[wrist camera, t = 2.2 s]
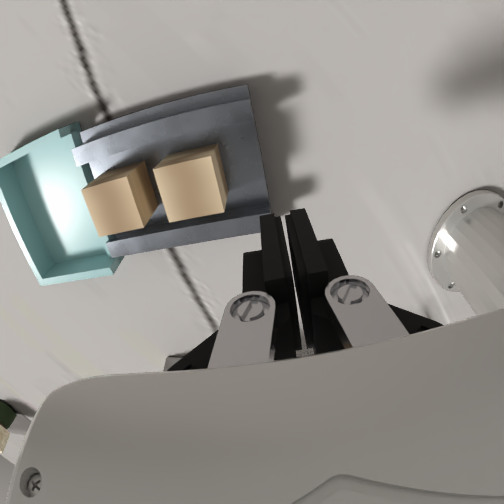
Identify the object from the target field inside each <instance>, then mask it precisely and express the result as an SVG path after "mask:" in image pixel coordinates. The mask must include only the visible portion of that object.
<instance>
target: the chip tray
mask: <svg viewBox="0 0 504 504" xmlns="http://www.w3.org/2000/svg"><path fill="white" fill-rule="evenodd" d="M80 132H82V131H81V128H80V124H79V122H76V123H73V124H70V125H68V126H65V127H62V128H60V129H57V130H55V131H53V132H51V133H49V134H47V135H45V136H43V137H41V138H39V139H37V140H35V141H33V142H31V143H29V144H27V145H25V146H23V147H21V148H19V149H17V150H15V151H14V152H12V153H10V154H8V155H6V156H5V157H3V158H1V159H0V201H1V204H2V206H3V209H4V211H5V214H6V216H7V218H8V221H9V223H10V225H11V227H12V230H13V232H14V234H15V236H16V238H17V241H18V243H19V245H20V247H21V249H22V251H23V253H24V255H25V257H26V259H27V261H28V263H29V265H30V267H31V269H32V271H33V272H34V274H35V276H36V278H37V280H38V282H39V283H40V285H41V286H44V285H50V284H56V283H63V282H69V281H76V280H82V279H89V278H95V277H102V276H108V275H113V274H114V273H115V271H116V269H117V268H118V266H119V264H120V263H121V261H122V259H123V258H124V256H119V257H114V258H112V257H111V254H110V252H109V250H108V247H107V245H106V242H107V241H108V239H109V238H110V237H111V235H107V236H102V237H99V235H98V233H97V230H96V228H95V225H94V223H93V220H92V218H91V215H90V213H89V210H88V208H87V205H86V202H85V200H84V197H83V194H82V192H81V190H82V189H83V188H84V187H85V186H87V185H88V184H89V183H90V182H92V181H93V180H94V177H93V174H92V171H91V168H90V165H89V163H86V164H83V165H81V166H78V167H77V166H76V163H75V160H74V157H73V154H72V150H71V149H73V148H75V147H77V146H79V145H81V144H83V142H82V139H81V135H80Z"/></svg>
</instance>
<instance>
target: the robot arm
mask: <svg viewBox="0 0 504 504" xmlns="http://www.w3.org/2000/svg"><path fill="white" fill-rule="evenodd" d="M259 217H260V231H261V245H262V250H259V251H253V252H246V253H244V254H243V292H242V294H239V295H237V296H236V297H234V298H232V299H231V300H230V301H229V302H228V303H227V305H226V307H225V310H224V313H223V317H222V320H221V323H220V327H219V330H217V331H216V332H215V333H214V334H212V335H211V336H210V337H208V338H207V339H206V340H205V341H203V342H202V343H201V344H199V345H198V346H197V347H196V348H194V349H193V350H192V351H190V352H189V353H188V354H187V355H185V356H184V357H183V358H181V359H180V360H179V361H178V362H176V363H175V364H174V365H172V366H171V367H170V368H169V369H168V370H167V371H165V372H145V373H129V374H110V375H102V376H94V377H90V378H85V379H80V380H77V381H74V382H72V383H69V384H66V385H64V386H62V387H59V388H58V389H56V390H54V391H52V392H51V393H50V394H49V395H48V396H47V397H46V398H45V400H44V401H43V402H42V404H41V405H40V407H39V408H38V410H37V412H36V414H35V416H34V418H33V420H32V422H31V424H30V426H29V428H28V431H27V433H26V436H25V438H24V441H23V444H22V446H21V449H20V452H19V455H18V458H17V461H16V464H15V467H14V471H13V475H12V478H11V482H10V486H9V490H8V494H7V499H6V503H5V504H504V198H502V197H501V196H500V195H498V194H497V193H495V192H493V191H489V190H477V191H474V192H471V193H468V194H466V195H465V196H463V197H461V198H459V199H458V200H457V201H456V202H455V203H454V204H452V205H451V206H450V207H449V209H448V210H447V211H446V212H445V213H444V214H443V216H442V217H441V219H440V220H439V222H438V223H437V226H436V228H435V230H434V232H433V234H432V237H431V240H430V243H429V249H428V266H429V270H430V272H431V275H432V277H433V278H434V279H435V281H436V282H437V284H438V285H440V286H441V287H442V288H443V289H445V290H447V291H452V292H461V294H462V295H463V296H464V298H465V299H466V301H467V302H468V304H469V305H470V306H471V308H472V309H473V311H474V312H475V314H476V315H477V316H474V317H471V318H467V319H464V320H461V321H458V322H454V323H451V324H447V325H442V324H440V323H438V322H436V321H433V320H431V319H428V318H425V317H423V316H420V315H417V314H414V313H412V312H409V311H406V310H403V309H401V308H398V307H395V306H393V305H390V304H387V302H386V301H385V300H384V298H383V297H382V296H381V294H380V293H379V292H378V290H377V289H376V288H375V286H374V285H373V284H372V283H371V282H370V281H369V280H367V279H365V278H363V277H360V276H355V275H348V272H347V270H346V268H345V266H344V263H343V261H342V259H341V256H340V254H339V252H338V250H337V248H336V245H335V243H334V241H333V239H326V240H320V241H317V239H316V236H315V234H314V231H313V228H312V226H311V223H310V220H309V218H308V215H307V213H306V210H305V208H303V209H297V210H291V211H290V215H285V219H286V226H287V233H288V239H289V246H290V253H291V260H292V268H293V275H294V281H295V287H296V292H297V297H298V302H299V308H300V313H301V318H302V324H303V329H304V335H305V340H306V346H307V349H308V348H313V350H314V355H309V356H303V357H296V350H302V345H301V337H300V329H299V321H298V313H297V305H296V297H295V290H294V283H293V276H292V271H291V266H290V261H289V256H288V251H287V246H286V241H285V236H284V231H283V226H282V221H281V217H280V216H278V217H274V213H273V214H267V215H261V216H259Z"/></svg>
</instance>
